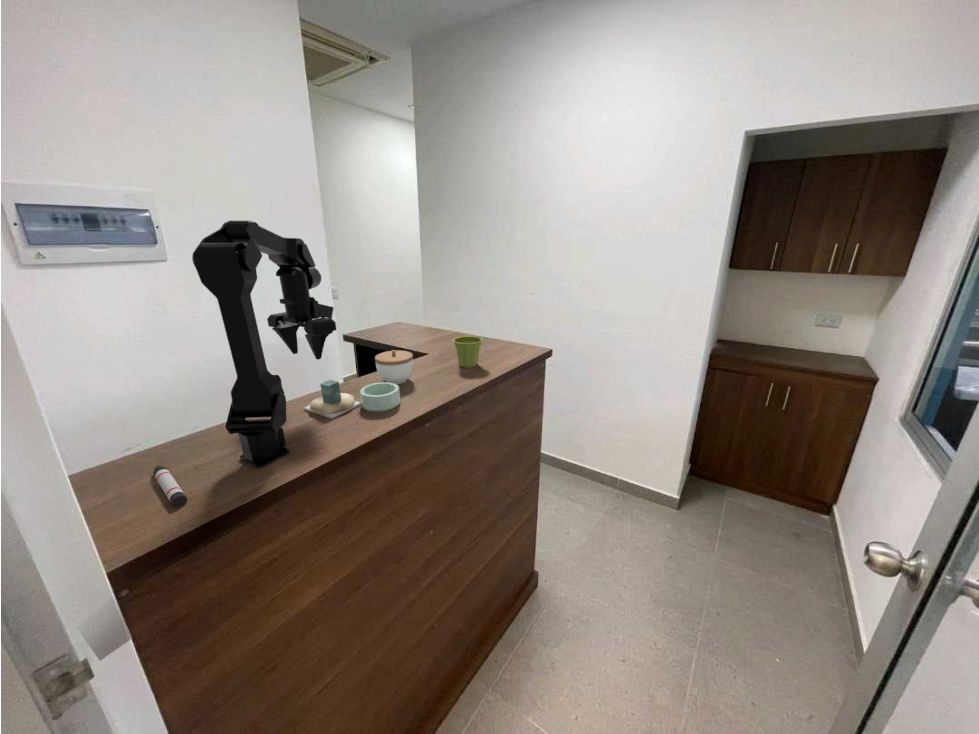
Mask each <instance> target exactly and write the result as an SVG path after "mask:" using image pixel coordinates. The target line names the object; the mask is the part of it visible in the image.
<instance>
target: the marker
mask: <svg viewBox="0 0 979 734" xmlns="http://www.w3.org/2000/svg"><path fill="white" fill-rule="evenodd" d="M153 476H154V477H155V480H156V481H157V482H158V484H159V486H160V488H161V489H162V491H163V492H164V494H165V495H166V497H167V499H168V500H169V502H170V503H171V505H172V506H173V507H174V508H177V507H179V506H183V505H184V504H187V502H188V497H187V496H186V493H184V491H183V490H182V488H181V487H180V485H179V484H178V482H177V480H176V479H175V478H174V476H173V475H172V474H171V472H170V471H169V469H168V468H167V467H166V466H162V465H158V464H156V466H155V467H154V469H153Z"/></svg>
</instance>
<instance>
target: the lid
mask: <svg viewBox="0 0 979 734" xmlns="http://www.w3.org/2000/svg"><path fill="white" fill-rule="evenodd" d="M320 390H321V396H318V397H316V398H315V399H313V400H311V401H310V403H309V405H310V410H311V411H312V412H311V413H313V414H316V415H319V414H334V413H338V412H342V411H345V410H347V409H349V408H351V407H352V406H353V405H354V404H355V401H356V400H355V396H354V395H352V394H350V393H345V392H341V388H340V382H339V381H337V380H332V379H329V380H327V381H324V382H322V383H320Z"/></svg>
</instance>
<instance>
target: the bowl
mask: <svg viewBox="0 0 979 734" xmlns="http://www.w3.org/2000/svg"><path fill="white" fill-rule="evenodd" d="M359 396H360V402H361V408H362V409H363V410H365V411H367V412H372V413H375V412H376V413H378V412H380V413H381V412H386V411H389V410H393V409H395V408H396V407H398V406H399V405H400V403H401V392H400V386H399V384H394V383H390V382H386V381H385V382H383V381H382V382H380V381H379V382H375V383H369V384H367V385H365V386H363V387H362V388H360V390H359Z"/></svg>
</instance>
